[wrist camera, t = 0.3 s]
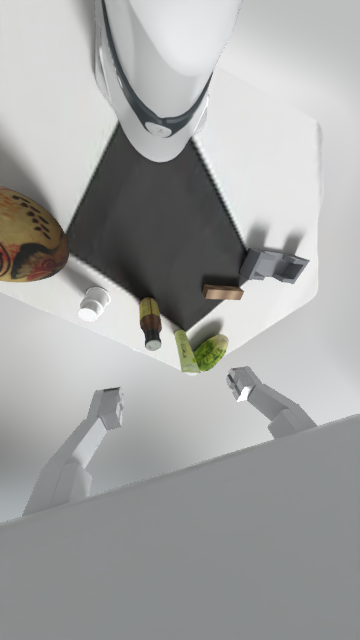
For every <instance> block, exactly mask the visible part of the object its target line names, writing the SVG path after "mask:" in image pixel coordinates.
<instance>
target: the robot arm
mask: <svg viewBox="0 0 360 640" xmlns="http://www.w3.org/2000/svg"><path fill="white" fill-rule="evenodd" d="M241 3H242V0H95V18H96V37H95V76H96V81H97V85H98V88H99V90H100V91H101V93H102V95H103V96H104V97H105V99H106V100H107V101H108V103H109V104H110V105H111V106H112V108H113V109H114V111H115V113H116V115H117V117H118V119H119V121H120V124H121V126H122V128H123V130H124V132H125V134H126V136H127V138H128V139H129V141H130V142H131V144H132V145H133V146H134V147H135V149H136V150H137V151H138V152H139V153H140V154H142V155H143V156H144V157H146V158H148V159H150V160H152V161H155V162H166V161H169V160H171V159H173V158H175V157H176V156H177V155H178V154H179V153H180V152H181V151H182V150H183V148H184V147H185V145H186V143H187V142H188V140H189V139H190V138H191V136H193V135H195V134H196V133H198V132H199V131H200V130H201V129H202V128H203V127H204V124H205V122H206V116H207V104H208V101H209V94H208V87H209V83H210V80H211V77H212V74H213V70H214V68H215V66H216V64H217V62H218V60H219V58H220V56H221V54H222V52H223V50H224V48H225V46H226V44H227V42H228V40H229V38H230V35H231V33H232V31H233V28H234V25H235V23H236V20H237V16H238V14H239V11H240V7H241ZM102 68H103V70H102ZM229 373H230V374H229V375H227V383H228V386H229V387H230V388H231V389H232V390H233V395H234V397H235V398H236V400H237V401H242V400H247V401H249V402H250V403H251V404H252V405H253V406H254V407H256V408H257V409H258V410H259V411H260V412H261V413H263V414H264V415H265V416H266V417H267V418H268V419H270V420H271V421H272V422H271V423H270V424H269V425H268V429H269V430H270V432H271V434H272V435H273V437H274V440H271V441H267V442H264V443H261V444H258V445H255V446H251V447H248V448H245V449H242V450H238V451H235V452H231V453H228V454H225V455H222V456H218V457H215V458H212V459H209V460H205V461H202V462H199V463H195V464H192V465H189V466H186V467H183V468H179V469H176V470H173V471H169V472H166V473H163V474H159V475H156V476H153V477H150V478H147V479H143V480H140V481H137V482H134V483H130V484H127V485H123V486H121V487H117V488H114V489H110V490H107V491H104V492H101V493H97V494H94V495H91V496H89V492H90V487H91V481H92V476H91V474H89V473H88V472H87V471H86V470H85V467H86V466H87V464H88V462H89V460H90V459H91V457H92V456H93V454H94V452H95V451H96V449H97V447H98V446H99V444H100V442H101V441H102V439H103V437H104V435H105V434H106V432H107V430H110V429H115V428H118V427H121V425H122V417H123V415H122V412H121V411H122V409H123V407H124V396H123V393H122V389H121V387H117V388H110V389H104V390H97V391H95V393H94V396H93V399H92V402H91V405H90V409H89V412H88V416H87V419H86V420H83V421H82V422H81V424H80V425H79V426H78V427H77V428H76V430H75V431H74V432H73V433H72V434H71V435H70V437H69V438H68V439H67V440H66V441H65V443H64V444H63V445H62V446H61V447H60V449H59V450H58V451H57V452H56V453H55V455H54V456H53V457H52V458H51V459H50V460H49V462H48V463H47V464H46V465H45V466H44V468H43V469H42V470H41V472H40V475H39V477H38V480H37V482H36V484H35V487H34V489H33V491H32V494H31V496H30V498H29V501H28V503H27V506H26V508H25V510H24V513H23V515H22V517H19V518H16V519H12V520H9V521H6V522H3V523H0V640H360V414H356V415H352V416H349V417H346V418H343V419H340V420H336V421H333V422H329V423H326V424H323V425H320V426H317V425H316V424H315V423H314V422H313V420H312V419H311V418H310V417H309V416H308V415H307V414H306V412H305V411H304V410H303V409H302V408H301V407H300V406H299V405H298V404H296V403H295V402H293V401H292V400H290V399H288V398H287V397H285V396H283V395H282V394H280V393H278V392H277V391H275V390H274V389H272V388H270V387H269V386H267V385H265V384H262V382H261V381H260V380H259V379H258V377H257V376H256V375H255V374H254V372H253V371H252V370H251V368H250V367H248V366H245V367H239V368H233V369H230V370H229Z"/></svg>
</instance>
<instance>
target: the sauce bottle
mask: <svg viewBox="0 0 360 640" xmlns="http://www.w3.org/2000/svg"><path fill="white" fill-rule="evenodd" d="M139 308H140V326H141V329H142V330H143V332H144V334H145V338H146V341H145V347H146V348H147V349H148V350H151V351H154V350H157V349H159V348H160V347H161V340H160V337H159V333H160V331H161V330H162V326H161V319H160V314H159V309H158V304H157V302H156V300H155V299H153V298H151V297H146V298H143V299H142V300H141V302H140V306H139Z"/></svg>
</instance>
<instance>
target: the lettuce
mask: <svg viewBox="0 0 360 640" xmlns="http://www.w3.org/2000/svg"><path fill="white" fill-rule="evenodd" d="M227 346H228V338H227V337H226V336H225V335H223V334H218V335H216V336H214V337H211V338H209V339H208V340H206V341H205V342H204V343H202V344H201V345H200V346H199V347H198V348H197V349H196V350H195V351H194V352H193V355H194V357H195V360H196V363H197V365H198V367H199V370H200V371H208V370H210V369H211V368H213V367H214V365H216V363H217V362H218V361H219V360H220V359H221V358H222V357H223V356H224V354H225V352H226V349H227Z"/></svg>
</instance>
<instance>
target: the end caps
mask: <svg viewBox="0 0 360 640" xmlns="http://www.w3.org/2000/svg"><path fill="white" fill-rule="evenodd" d="M309 261H310V260H307V259H304V258H301V257H298V256H295V255H289V254H283V253H277V252H270V251H264V250H258V249H251V248H249V250H248V252H247V254H246V257H245V259H244V261H243V264H242V266H241V269H240V271H239V273H240V274H241V275H242V276H244V277H245V278H247V279H248V280H252V279H255V280H263V279H264V278H265V277H274V278H276V279H277V280H279V281H281V282H288V283H291V284H294V283H295V281H296V280H297V278H298V277H299V275H300V274H301V272H302V271H303V270H304V268H305V267H306V265H307V264H308V262H309Z"/></svg>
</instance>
